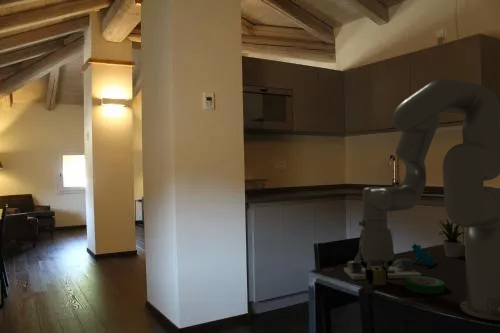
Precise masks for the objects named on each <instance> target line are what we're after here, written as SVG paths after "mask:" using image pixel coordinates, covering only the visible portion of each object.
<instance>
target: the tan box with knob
mask: <svg viewBox="0 0 500 333" xmlns="http://www.w3.org/2000/svg"><path fill="white" fill-rule="evenodd" d="M375 266H376V267H370V268H371V270H372V283H371V285H373V286H386V285H387V282H386V280H387V279H386V271H385V270H384V269H382V268H381V267H379V266H380V265H375Z"/></svg>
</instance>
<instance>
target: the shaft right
mask: <svg viewBox="0 0 500 333" xmlns="http://www.w3.org/2000/svg"><path fill="white" fill-rule="evenodd" d="M397 258H398V257H397ZM413 264H414V263H413V260H412V258H406V257H400V258H398V260H397V261H395V262H394V263H393V264H392V265H391V266H393V267H397V268H398V269H401V270H404V271H409V270H412V269H413Z"/></svg>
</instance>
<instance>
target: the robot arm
mask: <svg viewBox="0 0 500 333" xmlns="http://www.w3.org/2000/svg"><path fill="white" fill-rule="evenodd" d="M499 102H500V101H499V99H498V97H497V95H496V94H495V93H494V92H493V90H491V89H489V88H488V87H487V86H484V85H481V84H477V83H474V82H469V81H463V80H458V79H457V80H456V79H451V78H445V77H444V78H437V79H435V80H433V81H431V82H429V83H427V84H426V85H425V86H423V87H421V88H420V89H419V90H417V91H416V92H414V93H413V94H411V95H410V96H408V97H407V98H406V99H404V100H403V101H402V102H400V104H399V105H398V106H397V107H396V108H395V109H394V111H393V113H392V114H393V115H392V118H391V120H392V125H393V127H394V128H395V129H396V130H397V131H399V132H400V133H401V135H400V137H399V141H398V143H397V145H396V149H395V155H396V157H397V158H398V159H399V160H401V161H402V162H403V163H404V166H405V176H404V179H403V182H402V184H401V185H398V186H397V185H395V186H385V187H382V186H367V187H363V189H362V221H358V225H359V226H360V227H362V228H361V230H360V235H359V244H358V246H359V247H358V248H359V249H358V252H357V253H356V255H355V257H354V259H353V260H355V261H357V262H358V263H360V264H361V265H362V266H363V267H364V268H365V273H366V279H365V280H366V281H368V282H369V283H370V284H372V270H371V268H370V267H371V266H372V262H381V266H382V269H384V270H385V271H386V283H387V280H389V279H388V271H387V270H388V269H389V267H390V266H392V264H393V263H394V262H395V261H397V260H398V257H397V255H396V253H395V251H394V241H393V235H392V232H391V229H390V228H388V212H397V211H405V210H411V209H413V208H414V207H416V205H417V204H418V203H419V201H420V200H421V197H422V195H423V193H424V190H425V187H426V184H427V168H426V164H425V159H426V156H427V154H428V152H429V150H430V146H431V144H432V141H433V139H434V138H435V134H436V131H437V129H438V127H439V123H440V119H441V116H440V115H441V113H447V114H448V113H449V114H461V115H464V119H463V121H462V128H461V134H462V143H457V144H456V145H453V146H452V147H451V148H449V149H448V150H447V152H446V153H445V156H444V159H443V161H442V162H443V163H442V184H443V185H442V186H443V198H444V199H443V200H444V201H443V202H444V209H445V212H446V214H447V216H448V219H449V220H450V222H451V223H452V222H453V224H455V226H457V225H458V226H459V227H460V228H461V227H462V228H466V230H465V232H466V233H465V235H464V236H465V237H464V238H465V240H464V242H465V244H464V246H465V247H464V248H465V249H464V251H465V252H464V255H465V281H466V282H465V283H466V284H465V285H466V287H465V288H466V300H463V301H462V302H461V303H459V307H460V310H461V311H462V312H463V313H464V314H467V315H469V316H470V317H475V318H478V319H483V320H489V321H499V322H500V189H499V188H497V187H494V186H487V185H486V186H484V185H485V184H484V182H485V181H487V182H488V181H491V180H494V179H496V178H498V177H499V176H500V103H499ZM362 259H363V260H362ZM364 261H365V262H364Z"/></svg>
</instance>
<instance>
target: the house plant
mask: <svg viewBox="0 0 500 333" xmlns="http://www.w3.org/2000/svg"><path fill="white" fill-rule="evenodd" d="M437 220H439V221H437ZM437 220H435V222H436V223H437V225H438V226H439V227H441V228H442V231H435V232H437V233H439V234H438V235H437V237H439V236H443V237H444V238H445V239H443V240H442V242H443V243H442V244H443V248H444V251H445V257H448V258H460V257H461V250H462V244H463V241H462V240H460V239H461V238H462V237H464V236H465V234H466V231H462V232H460V230H461V229H462V228H463V227H461V226H458V225H455V226H454V228H453V224H454V223H453V222H452V221H451V223H450V222H449V220H448V219H447V218H446V219H445V220H446V223H444V222H443V220H441V219H437ZM461 235H462V236H461ZM458 237H459V238H458Z"/></svg>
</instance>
